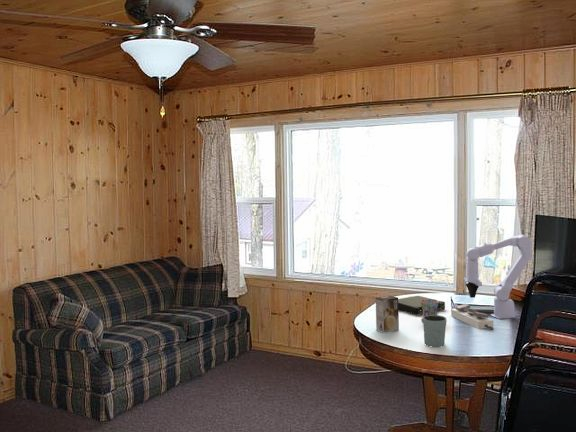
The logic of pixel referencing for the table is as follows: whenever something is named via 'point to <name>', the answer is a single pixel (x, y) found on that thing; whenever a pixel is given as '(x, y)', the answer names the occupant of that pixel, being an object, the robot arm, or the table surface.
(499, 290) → the robot arm
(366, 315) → the table surface
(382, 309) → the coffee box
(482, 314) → the rocker
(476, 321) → the power strip
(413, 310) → the network switch
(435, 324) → the grey tapered cup
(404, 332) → the table surface
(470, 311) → the rocker
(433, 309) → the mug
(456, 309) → the rocker
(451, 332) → the table surface
